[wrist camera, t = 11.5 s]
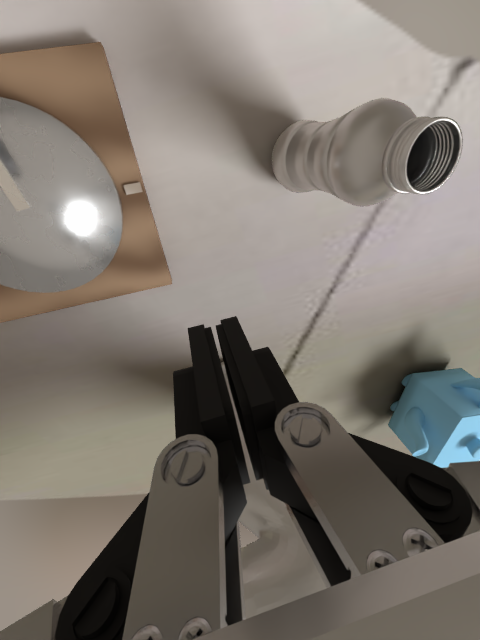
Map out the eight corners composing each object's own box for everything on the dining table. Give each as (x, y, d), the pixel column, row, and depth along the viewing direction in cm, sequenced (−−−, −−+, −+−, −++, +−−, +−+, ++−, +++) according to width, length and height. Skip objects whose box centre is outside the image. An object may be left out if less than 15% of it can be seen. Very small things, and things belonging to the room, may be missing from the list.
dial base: (171, 279, 36) (171, 284, 35) (-14, 321, 34) (-22, 328, 32) (103, 47, 25) (99, 40, 23) (-186, 83, 22) (-212, 77, 21)
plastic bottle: (267, 194, 34) (372, 230, 17) (264, 125, 30) (391, 84, 13) (318, 186, 35) (465, 213, 18) (320, 119, 31) (505, 73, 14)
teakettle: (441, 339, 54) (524, 394, 41) (465, 386, 63) (539, 442, 51) (360, 400, 57) (415, 467, 45) (394, 435, 67) (448, 499, 54)
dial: (150, 259, 33) (147, 276, 28) (4, 309, 32) (-25, 336, 27) (63, 71, 24) (37, 49, 19) (-145, 132, 23) (-228, 125, 18)
